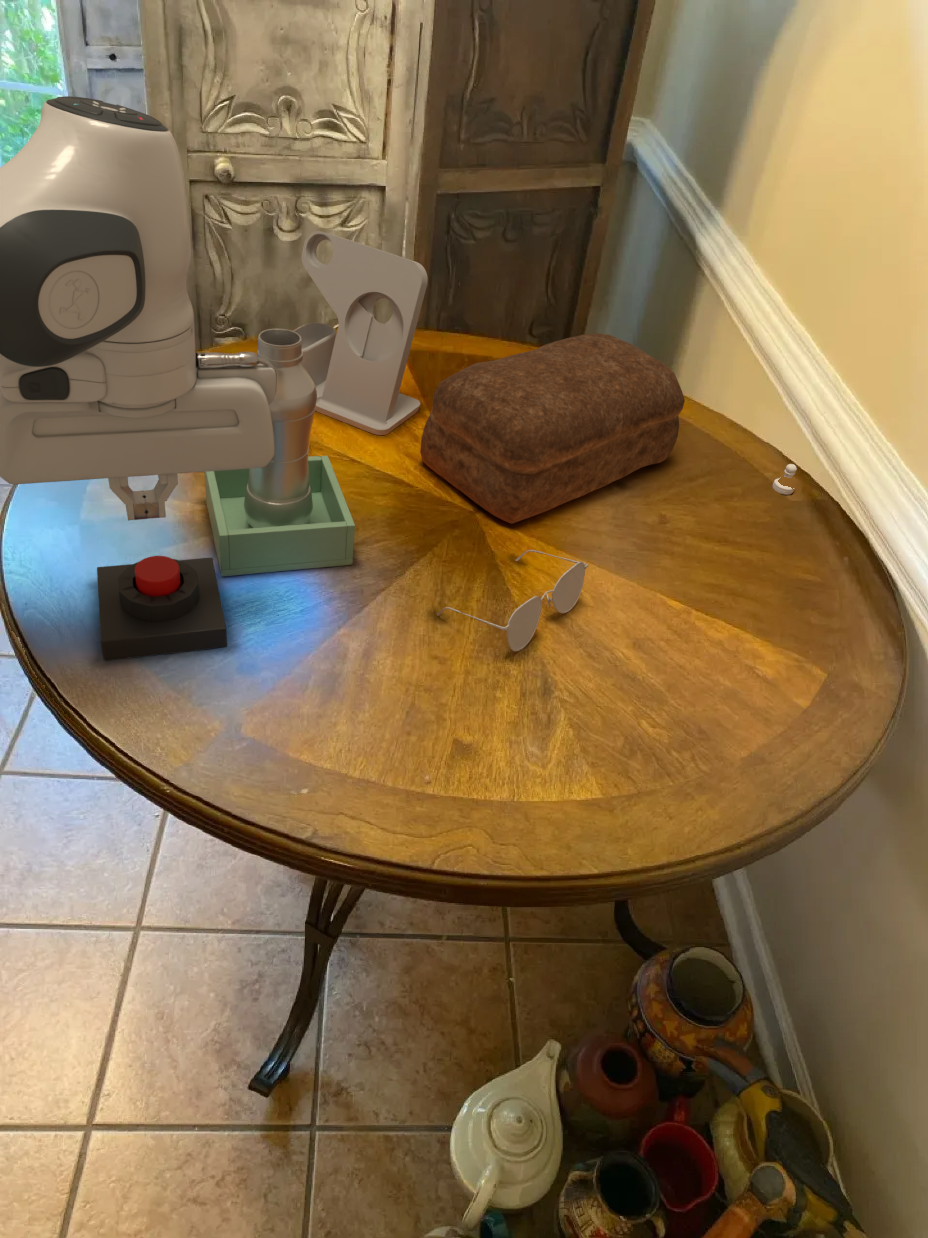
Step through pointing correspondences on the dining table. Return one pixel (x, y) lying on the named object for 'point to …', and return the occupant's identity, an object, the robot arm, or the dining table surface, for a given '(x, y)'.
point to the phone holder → (362, 333)
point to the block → (160, 613)
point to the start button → (157, 576)
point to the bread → (551, 423)
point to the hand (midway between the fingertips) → (146, 515)
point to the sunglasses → (529, 612)
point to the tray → (281, 545)
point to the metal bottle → (284, 438)
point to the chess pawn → (789, 472)
